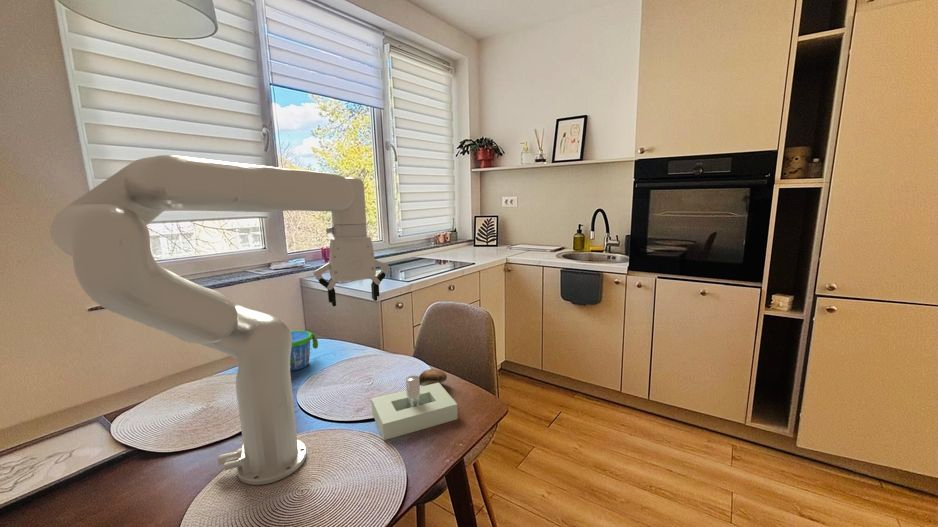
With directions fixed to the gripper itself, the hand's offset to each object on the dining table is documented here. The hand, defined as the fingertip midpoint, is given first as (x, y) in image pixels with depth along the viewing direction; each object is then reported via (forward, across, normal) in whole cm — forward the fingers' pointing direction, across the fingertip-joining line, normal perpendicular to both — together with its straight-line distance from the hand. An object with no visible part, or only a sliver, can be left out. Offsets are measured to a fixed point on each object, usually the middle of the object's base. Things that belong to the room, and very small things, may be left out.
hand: (354, 302), depth 92 cm
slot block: (+28, +11, -9) cm, 32 cm away
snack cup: (+28, -14, +35) cm, 47 cm away
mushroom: (+29, +20, +2) cm, 35 cm away
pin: (+28, +11, -9) cm, 32 cm away
